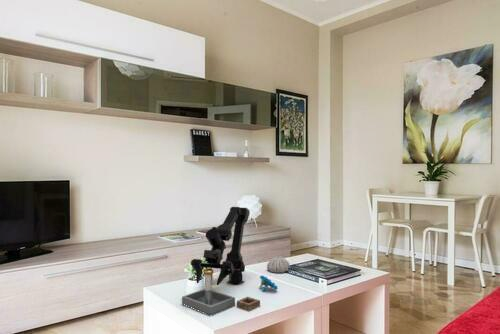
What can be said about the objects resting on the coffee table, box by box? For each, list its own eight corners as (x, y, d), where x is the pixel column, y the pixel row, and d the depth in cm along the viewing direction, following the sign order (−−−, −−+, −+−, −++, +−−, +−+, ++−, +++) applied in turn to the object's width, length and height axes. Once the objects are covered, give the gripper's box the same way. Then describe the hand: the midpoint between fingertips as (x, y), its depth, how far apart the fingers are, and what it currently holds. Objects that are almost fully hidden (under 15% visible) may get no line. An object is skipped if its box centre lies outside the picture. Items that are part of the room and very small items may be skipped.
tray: (182, 304, 152) (182, 296, 152) (206, 296, 163) (206, 288, 163) (210, 316, 141) (210, 307, 141) (234, 305, 151) (234, 297, 151)
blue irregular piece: (282, 288, 168) (268, 275, 166) (275, 299, 165) (260, 286, 163) (270, 285, 178) (257, 272, 175) (263, 295, 175) (250, 282, 173)
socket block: (236, 307, 150) (236, 301, 150) (247, 302, 155) (247, 296, 155) (249, 311, 145) (249, 305, 145) (260, 306, 151) (260, 300, 151)
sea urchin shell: (293, 273, 199) (293, 259, 199) (269, 274, 196) (269, 260, 196) (286, 267, 212) (286, 253, 212) (264, 268, 209) (264, 254, 209)
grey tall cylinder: (202, 302, 153) (203, 269, 153) (211, 301, 154) (212, 268, 155) (205, 305, 149) (205, 271, 150) (214, 304, 151) (214, 270, 151)
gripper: (192, 240, 158) (181, 272, 148) (232, 243, 153) (222, 276, 142) (200, 254, 166) (189, 285, 155) (237, 257, 160) (229, 289, 150)
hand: (207, 283), depth 150 cm, fingers open, 9 cm apart
